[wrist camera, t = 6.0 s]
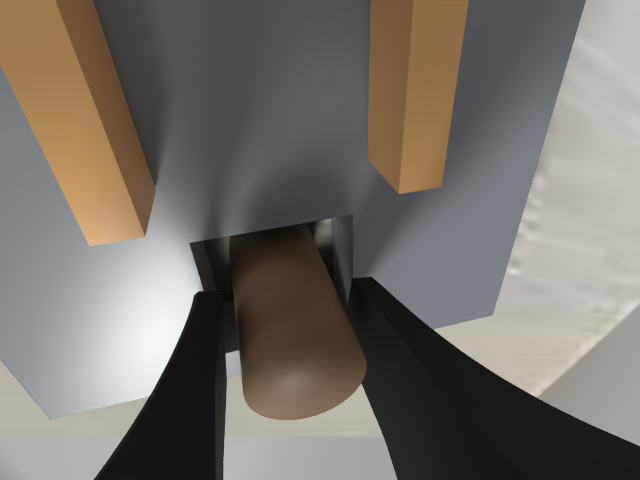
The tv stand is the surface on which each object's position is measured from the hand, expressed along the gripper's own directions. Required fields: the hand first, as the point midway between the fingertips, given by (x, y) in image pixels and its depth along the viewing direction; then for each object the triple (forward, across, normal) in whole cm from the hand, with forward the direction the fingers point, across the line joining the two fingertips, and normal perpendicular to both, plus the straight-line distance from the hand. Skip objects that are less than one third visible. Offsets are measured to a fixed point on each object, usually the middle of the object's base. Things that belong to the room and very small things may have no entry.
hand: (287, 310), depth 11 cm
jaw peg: (+4, 0, 0) cm, 4 cm away
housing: (+3, 0, -2) cm, 4 cm away
